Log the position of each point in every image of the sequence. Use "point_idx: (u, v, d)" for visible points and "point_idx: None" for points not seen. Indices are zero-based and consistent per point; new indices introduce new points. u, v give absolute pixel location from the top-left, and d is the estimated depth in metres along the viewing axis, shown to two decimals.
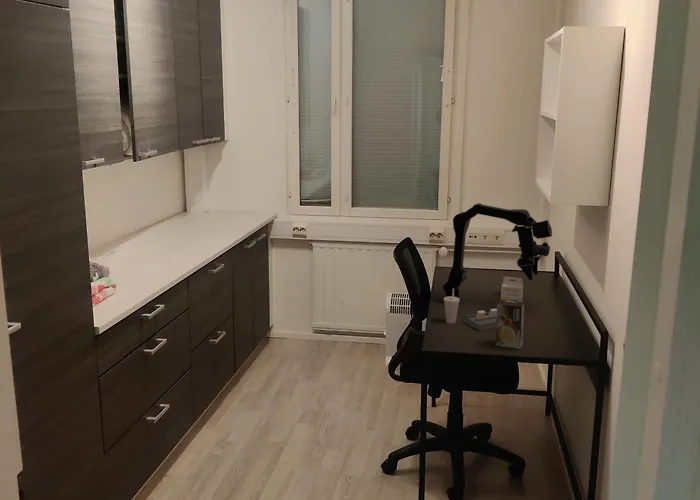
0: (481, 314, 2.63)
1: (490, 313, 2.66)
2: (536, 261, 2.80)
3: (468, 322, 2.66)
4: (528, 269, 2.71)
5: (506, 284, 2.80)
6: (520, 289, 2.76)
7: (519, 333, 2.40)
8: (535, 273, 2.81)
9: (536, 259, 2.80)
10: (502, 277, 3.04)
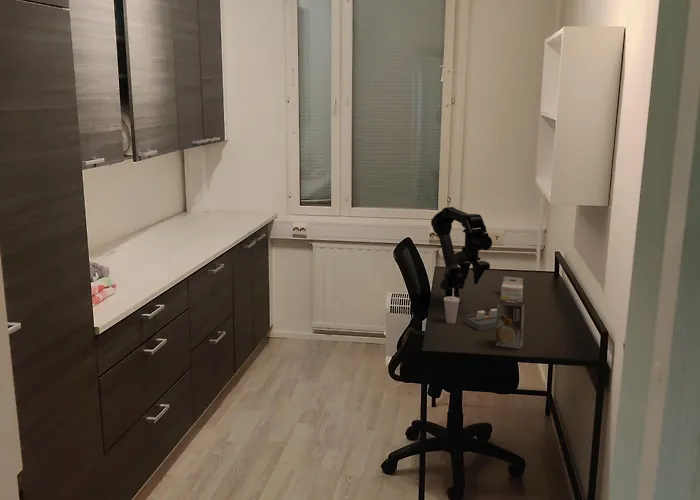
0: (481, 314, 2.63)
1: (490, 313, 2.66)
2: None
3: (468, 322, 2.66)
4: None
5: (506, 284, 2.80)
6: (520, 289, 2.76)
7: (519, 333, 2.40)
8: None
9: None
10: (502, 277, 3.04)
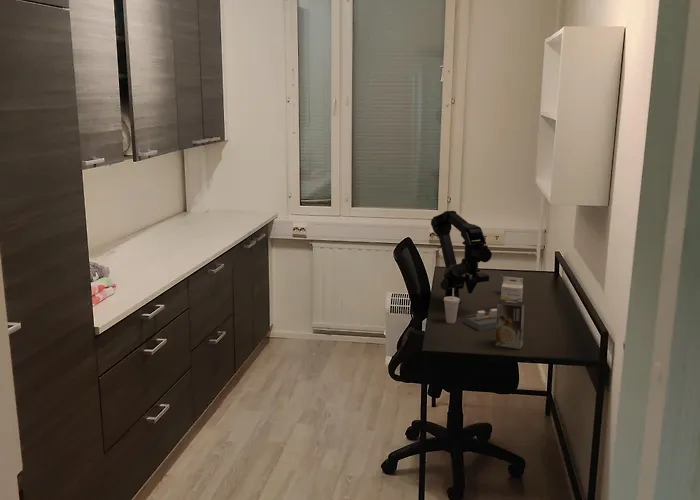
0: (481, 314, 2.63)
1: (490, 313, 2.66)
2: None
3: (468, 322, 2.66)
4: None
5: (506, 284, 2.80)
6: (520, 289, 2.76)
7: (519, 333, 2.40)
8: None
9: None
10: (502, 277, 3.04)
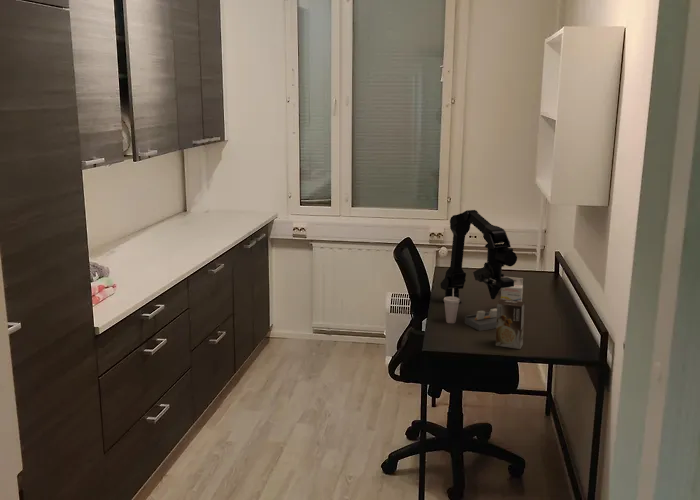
0: (481, 314, 2.63)
1: (490, 313, 2.66)
2: None
3: (468, 322, 2.66)
4: None
5: None
6: (520, 289, 2.76)
7: (519, 333, 2.40)
8: None
9: None
10: None
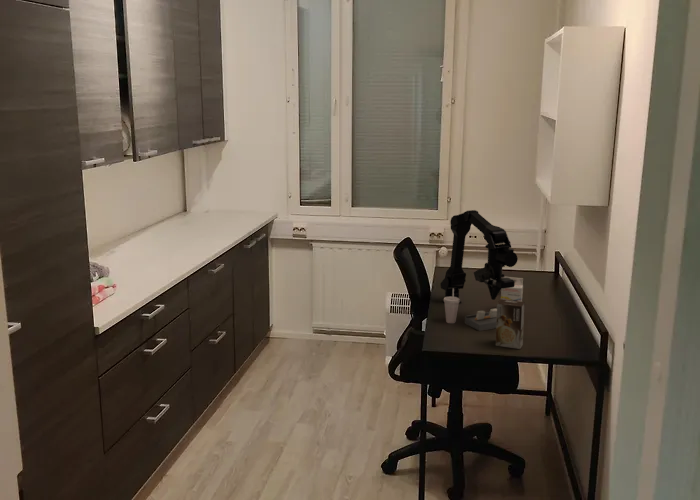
0: (481, 314, 2.63)
1: (490, 313, 2.66)
2: None
3: (468, 322, 2.66)
4: None
5: None
6: (520, 289, 2.76)
7: (519, 333, 2.40)
8: None
9: None
10: None
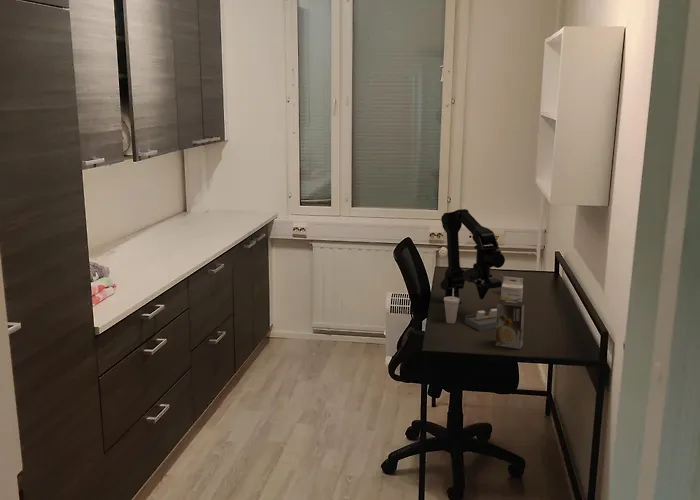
0: (481, 314, 2.63)
1: (490, 313, 2.66)
2: None
3: (468, 322, 2.66)
4: None
5: (506, 284, 2.80)
6: (520, 289, 2.76)
7: (519, 333, 2.40)
8: None
9: None
10: None
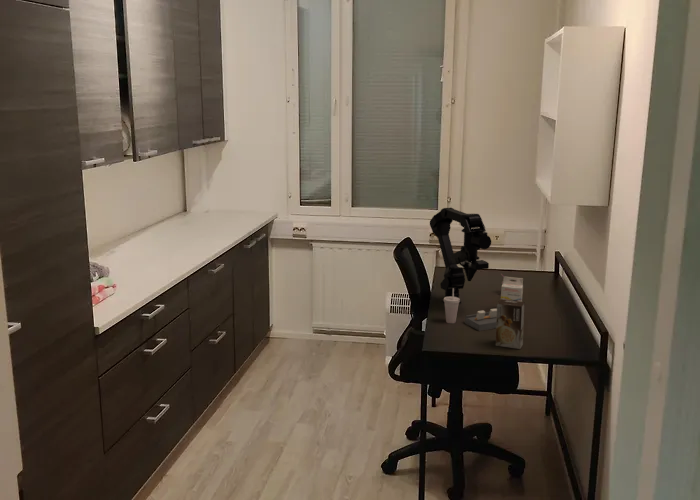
0: (481, 314, 2.63)
1: (490, 313, 2.66)
2: None
3: (468, 322, 2.66)
4: None
5: (506, 284, 2.80)
6: (520, 289, 2.76)
7: (519, 333, 2.40)
8: None
9: None
10: (503, 276, 3.05)
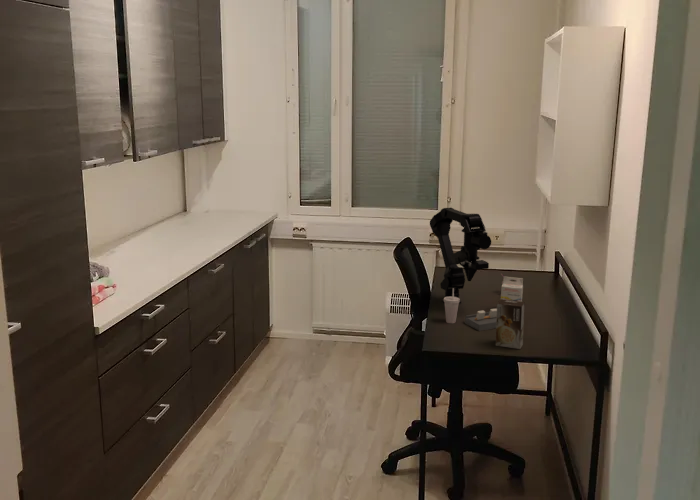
0: (481, 314, 2.63)
1: (490, 313, 2.66)
2: None
3: (468, 322, 2.66)
4: None
5: (506, 284, 2.80)
6: (520, 289, 2.76)
7: (519, 333, 2.40)
8: None
9: None
10: (503, 276, 3.05)
